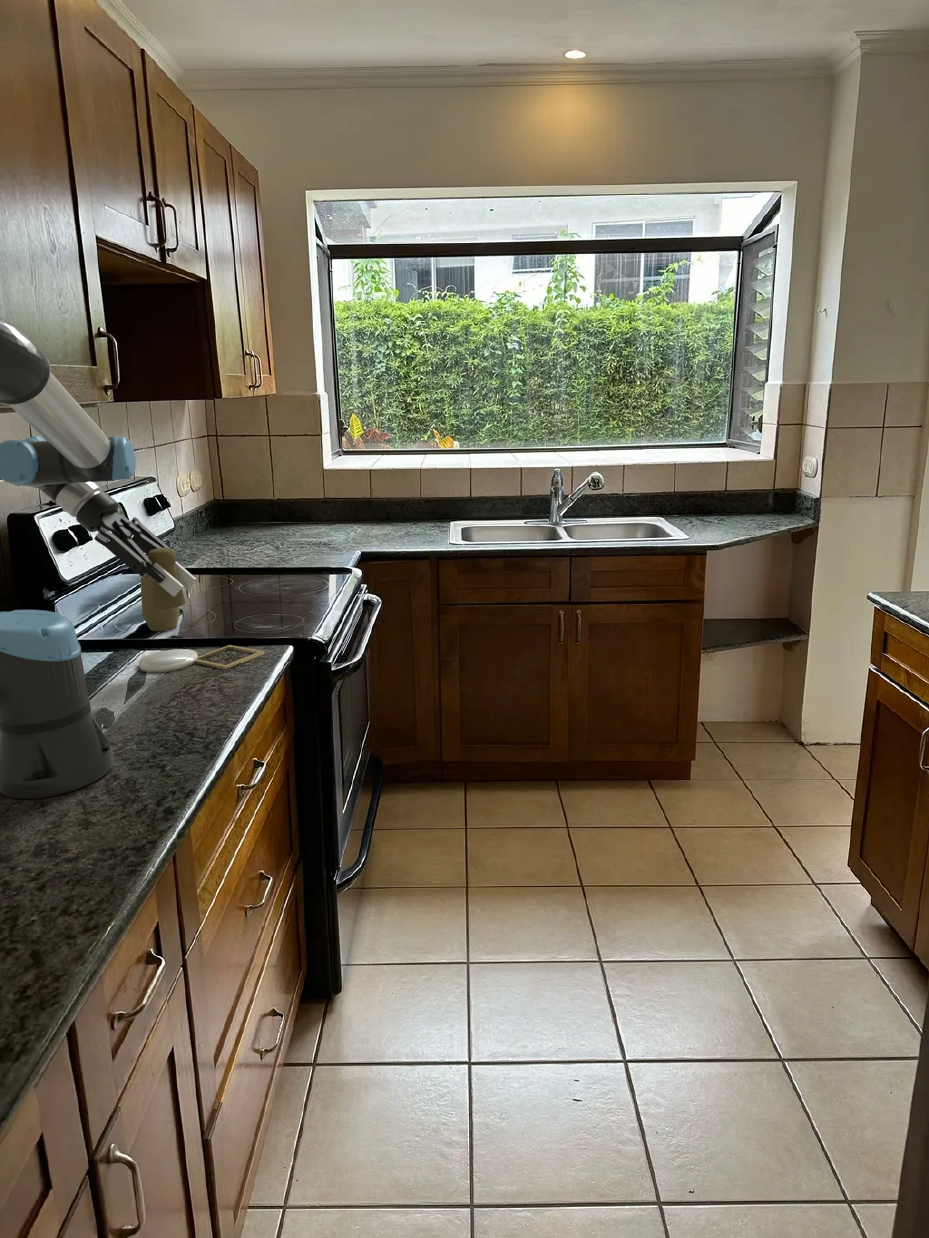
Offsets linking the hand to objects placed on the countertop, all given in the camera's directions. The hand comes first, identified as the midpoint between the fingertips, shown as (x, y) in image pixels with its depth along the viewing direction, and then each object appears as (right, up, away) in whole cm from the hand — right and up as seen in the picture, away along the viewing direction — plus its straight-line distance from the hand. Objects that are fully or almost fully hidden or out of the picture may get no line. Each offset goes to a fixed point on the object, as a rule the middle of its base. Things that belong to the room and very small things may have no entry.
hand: (184, 587), depth 160 cm
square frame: (+7, -14, +6) cm, 16 cm away
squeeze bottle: (-15, -8, +29) cm, 34 cm away
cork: (-3, -3, +1) cm, 5 cm away
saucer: (-5, -15, +5) cm, 16 cm away
